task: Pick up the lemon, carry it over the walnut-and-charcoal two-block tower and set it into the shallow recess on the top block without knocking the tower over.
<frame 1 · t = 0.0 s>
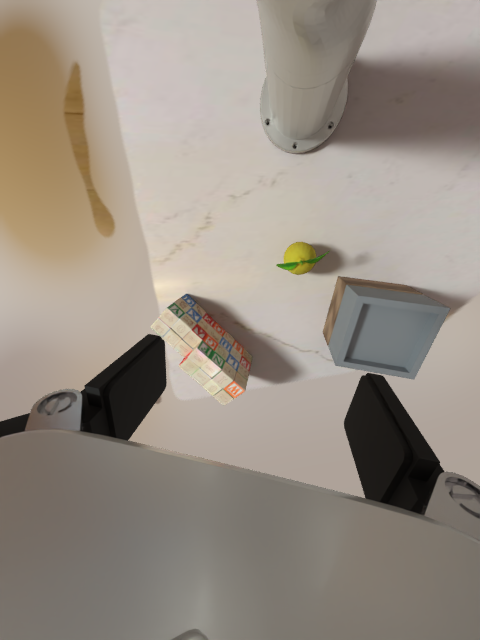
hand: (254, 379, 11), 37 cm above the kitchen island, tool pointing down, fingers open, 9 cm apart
tower top block: (371, 322, 40), point 6 cm above the kitchen island, touching tower base block
tower base block: (360, 309, 45), on the kitchen island, touching tower top block
stack of blocks: (212, 333, 53), on the kitchen island
lemon: (299, 255, 43), on the kitchen island
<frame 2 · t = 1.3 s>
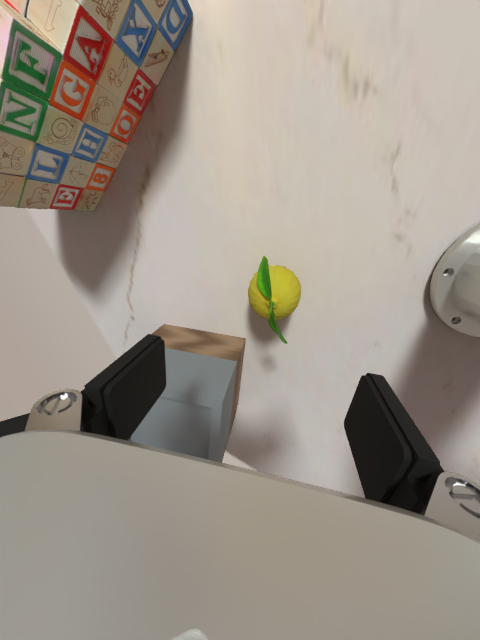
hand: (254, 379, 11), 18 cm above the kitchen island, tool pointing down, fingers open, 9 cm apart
tower top block: (187, 391, 29), point 6 cm above the kitchen island, touching tower base block
tower base block: (203, 365, 34), on the kitchen island, touching tower top block
stack of blocks: (114, 109, 24), on the kitchen island
lemon: (276, 284, 28), on the kitchen island
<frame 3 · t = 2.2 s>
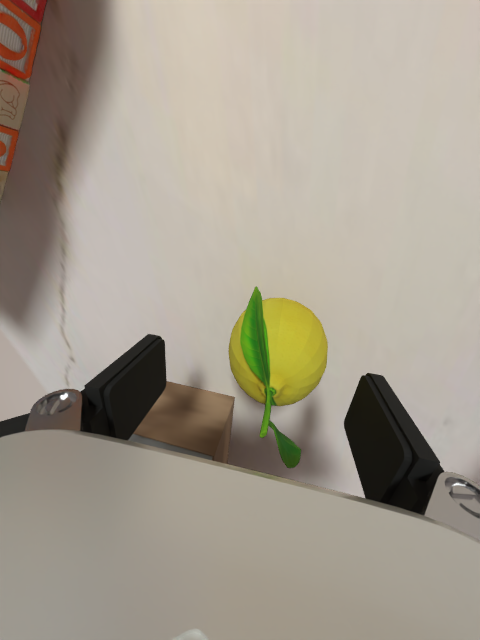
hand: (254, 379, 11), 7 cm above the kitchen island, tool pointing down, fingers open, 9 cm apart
tower top block: (139, 484, 19), point 6 cm above the kitchen island, touching tower base block
tower base block: (175, 426, 24), on the kitchen island, touching tower top block
lemon: (282, 322, 17), on the kitchen island
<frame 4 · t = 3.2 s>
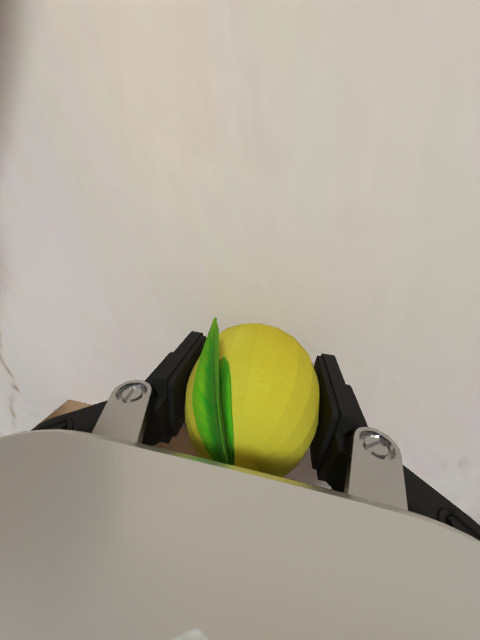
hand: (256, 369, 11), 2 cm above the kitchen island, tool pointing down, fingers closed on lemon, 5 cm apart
tower base block: (144, 462, 20), on the kitchen island, touching tower top block
lemon: (263, 347, 14), on the kitchen island, touching gripper
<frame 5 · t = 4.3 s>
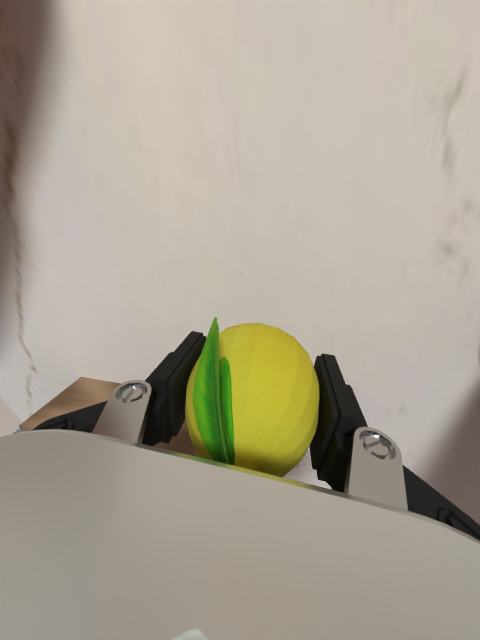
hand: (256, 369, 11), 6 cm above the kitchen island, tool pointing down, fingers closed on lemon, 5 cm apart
tower base block: (147, 431, 24), on the kitchen island, touching tower top block
lemon: (263, 347, 14), point 4 cm above the kitchen island, touching gripper
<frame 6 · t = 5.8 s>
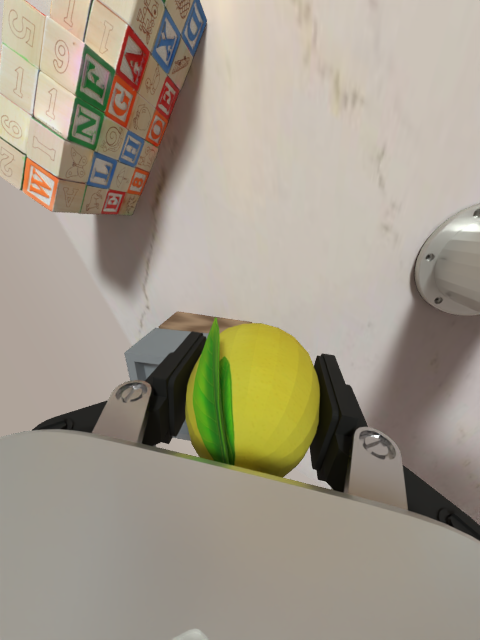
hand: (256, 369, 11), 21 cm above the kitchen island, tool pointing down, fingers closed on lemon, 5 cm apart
tower top block: (199, 370, 32), point 6 cm above the kitchen island, touching tower base block
tower base block: (213, 349, 38), on the kitchen island, touching tower top block
stack of blocks: (143, 119, 27), on the kitchen island
lemon: (263, 347, 14), point 19 cm above the kitchen island, touching gripper
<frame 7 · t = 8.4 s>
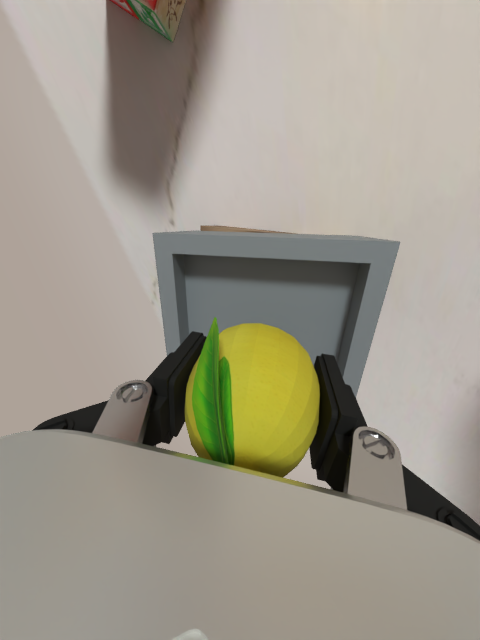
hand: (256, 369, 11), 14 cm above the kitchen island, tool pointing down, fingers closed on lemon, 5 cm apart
tower top block: (266, 308, 19), point 6 cm above the kitchen island
tower base block: (270, 290, 25), on the kitchen island
lemon: (263, 347, 13), point 12 cm above the kitchen island, touching gripper
when the fingers open (14 cm above the kitchen island, at t = 8.4 s): lemon drops 1 cm, resting on tower top block.
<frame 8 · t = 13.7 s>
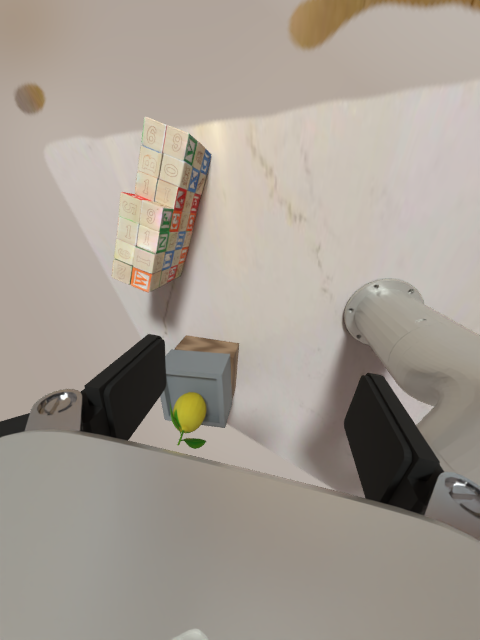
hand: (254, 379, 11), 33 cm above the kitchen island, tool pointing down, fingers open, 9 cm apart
tower top block: (202, 376, 46), point 6 cm above the kitchen island, touching lemon, tower base block
tower base block: (211, 361, 52), on the kitchen island, touching tower top block
stack of blocks: (179, 215, 41), on the kitchen island
lemon: (196, 394, 42), point 11 cm above the kitchen island, touching tower top block
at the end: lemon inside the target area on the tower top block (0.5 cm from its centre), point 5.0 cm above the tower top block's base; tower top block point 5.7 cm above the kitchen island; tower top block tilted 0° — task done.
